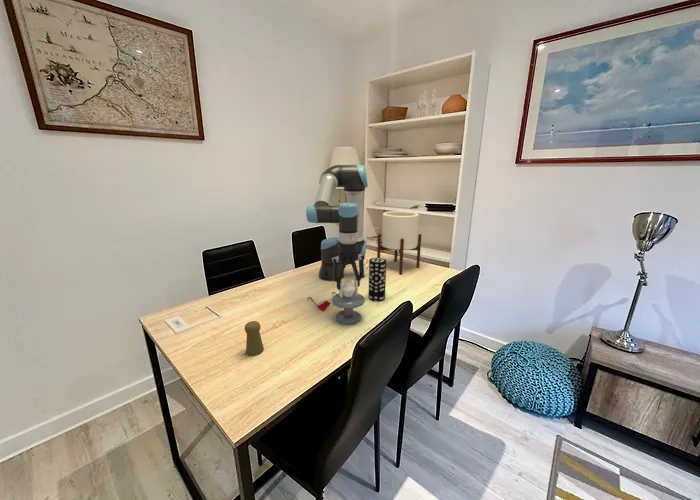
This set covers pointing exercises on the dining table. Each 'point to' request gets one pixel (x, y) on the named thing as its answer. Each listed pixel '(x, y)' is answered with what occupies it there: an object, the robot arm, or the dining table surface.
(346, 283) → the muffin
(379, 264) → the spotted tube
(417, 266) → the plant pot with stand
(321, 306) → the glasses
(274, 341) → the dining table surface
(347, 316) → the cake stand
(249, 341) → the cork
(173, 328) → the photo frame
